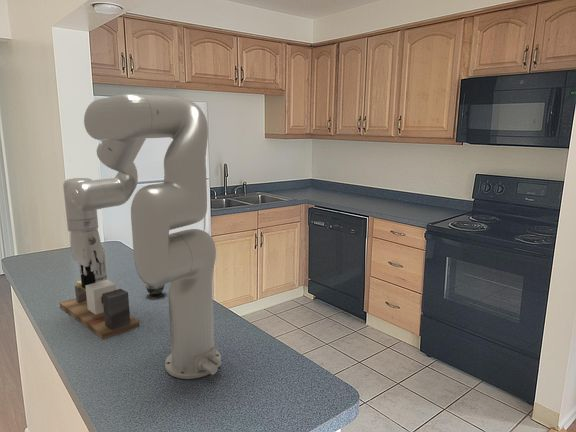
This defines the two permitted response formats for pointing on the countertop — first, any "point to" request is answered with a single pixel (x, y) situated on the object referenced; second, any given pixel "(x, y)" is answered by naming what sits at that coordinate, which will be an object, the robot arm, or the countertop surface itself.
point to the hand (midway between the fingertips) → (88, 286)
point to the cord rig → (108, 321)
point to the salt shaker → (155, 291)
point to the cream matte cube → (97, 295)
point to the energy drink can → (101, 269)
